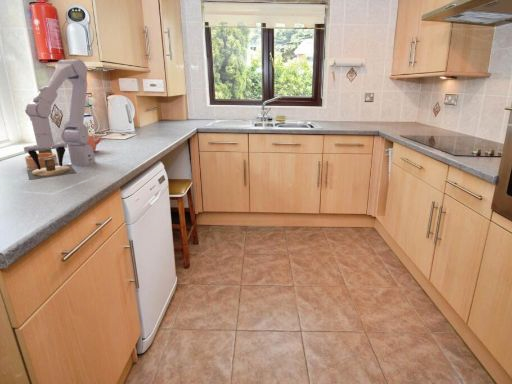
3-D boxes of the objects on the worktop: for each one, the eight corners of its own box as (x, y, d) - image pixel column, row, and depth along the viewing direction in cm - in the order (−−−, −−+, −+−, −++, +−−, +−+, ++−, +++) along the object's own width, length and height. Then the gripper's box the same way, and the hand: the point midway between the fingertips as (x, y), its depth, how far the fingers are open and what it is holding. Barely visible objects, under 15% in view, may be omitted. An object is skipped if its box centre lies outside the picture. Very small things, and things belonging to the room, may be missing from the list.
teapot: (91, 148, 178) (88, 129, 174) (105, 151, 172) (102, 131, 169) (66, 153, 166) (62, 133, 163) (79, 156, 161) (76, 135, 157)
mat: (70, 165, 144) (70, 164, 144) (76, 174, 131) (76, 173, 131) (27, 171, 135) (26, 170, 135) (29, 181, 122) (29, 180, 122)
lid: (76, 168, 137) (74, 156, 136) (51, 177, 125) (48, 164, 124) (51, 166, 140) (48, 154, 138) (24, 174, 128) (21, 162, 127)
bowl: (63, 163, 147) (61, 153, 145) (42, 169, 137) (40, 159, 135) (43, 162, 150) (40, 152, 148) (21, 168, 139) (18, 157, 138)
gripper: (61, 130, 135) (67, 162, 140) (19, 134, 126) (27, 168, 130) (65, 132, 130) (72, 165, 135) (22, 136, 121) (30, 172, 125)
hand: (50, 167), depth 132 cm, fingers open, 7 cm apart
